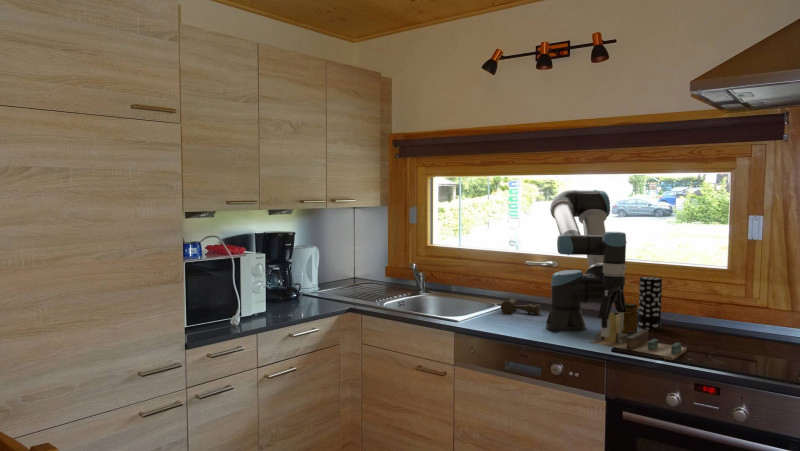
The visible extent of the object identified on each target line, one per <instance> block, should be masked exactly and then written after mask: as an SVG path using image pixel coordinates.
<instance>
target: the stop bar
mask: <svg viewBox="0 0 800 451" xmlns="http://www.w3.org/2000/svg"><path fill="white" fill-rule="evenodd" d="M608 319H610V327H609V337H605V340H604V341H609V342H614V343H616V342H617V337H618V336H620V335H621V330H620V313H616V311H614V312H613V311H611V312H610V315H609V318H608Z"/></svg>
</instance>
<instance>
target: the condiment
mask: <svg viewBox="0 0 800 451" xmlns="http://www.w3.org/2000/svg"><path fill="white" fill-rule="evenodd" d="M625 303H626V312H623V313H624V320H623V330H620V334H621V333H622V334H628V335H633V334H635V333H637V332H638V317H639V311H638V308H637V307H638V305H637V304H635V303H632V302H631V303H629V302H625Z"/></svg>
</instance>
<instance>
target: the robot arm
mask: <svg viewBox="0 0 800 451" xmlns="http://www.w3.org/2000/svg"><path fill="white" fill-rule="evenodd" d="M610 201H611V200H610V197H609V196H608V193H607V192H606V191H605V190H598V189H593V190H591V189H590V190H589V189H587V190H585V189H580V190H579V189H568V190H564V191H561V192H560V193H558V194H557V195H556V196H554V198H553V200H552V201H551V202H550V207H549V208H550V209H549V212H550V214H551V216H552V218H553V219H555V222H556V226H557V229H558V232H559V235H558V236H557V239H556V243H557V244H556V248H557V253H558V254H560V255H567V256H573V255H575V256H576V255H577V256H586V260H587V267H588V268H587V269H586V271H585V273H584V272H583V271H582V270H580V269H566V270H561V271H557V272H554V273H552V275H551V280H550V282H551V283H550V286H551V288H550V289H551V294H550V311H549V313H548V316H547V319H546V323H545V329H547V331H550V332H555V333H560V332H582V331H584V330H586V322H585V319H584V315H583V313H582V304H584V305H585V304H588V305H590V304H591V305H600V307H599V312H598V318H599V319H600V321H601V322H600V332H601V336H603V337H609V327H610V319H608V318H609V315H610V312H612V308H613V305H614V307H615V309H616V311H615V313H620V331H621V330H623V320H624V313H623V312H626V303H627V302H626V299H625V298H626V297H625V291H624V289H625V288H624V287H625V284H626V276H625V274H626V270H627V266H626V254H627V253H626V251H627V235H626V233H625V232H623V231H606V226H605V225H606V224H605V222H606V220H607V217H609V216H610V213H611V205H610V204H611V202H610ZM576 218H578V221H579V223H580V224H582V226H583V234H581V232H580V228H579V226H578V223H577V221H576Z"/></svg>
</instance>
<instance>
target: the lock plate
mask: <svg viewBox="0 0 800 451" xmlns="http://www.w3.org/2000/svg"><path fill="white" fill-rule="evenodd" d="M604 340H605V337H603V336H601V331H599V332H597V333H596V339H594V340H591V341H590V342H589V343H590V344H595V345H601V346H607V347H611V348H617V349H622V350H629V351H633V352H634V351H635V352H639V353H645V354H651V355H655V356H656V355H657V356H660V359H661V358H664V359H663V360H667V359H668V361H672V360H673V361H674V359H675V360H676V359H677V358H679V357H680V356H681V355H683V354H684V353H686V352H687V350H688V348H687V347H685V346H682V343H681V342H675V343H673V344H667V343H661V342H659V339H658V338H652V339H651V340H649V329H643V328H641V329H640V330H639V331H637V333H635V334H630V335H629V334H624V333H622V334H620V336H618V337H617V342H616V343H614V342H609V341H604Z"/></svg>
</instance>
